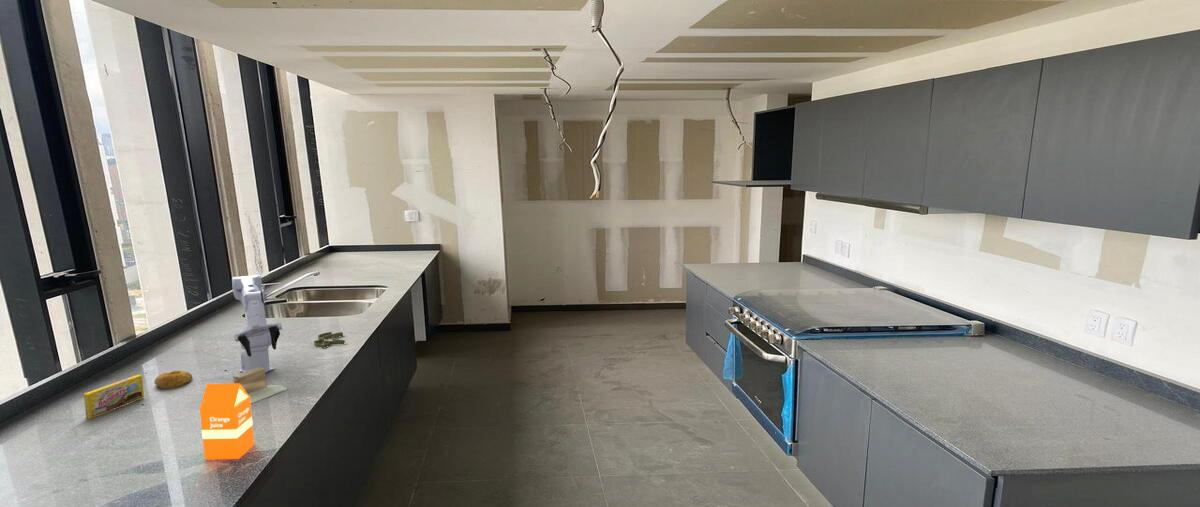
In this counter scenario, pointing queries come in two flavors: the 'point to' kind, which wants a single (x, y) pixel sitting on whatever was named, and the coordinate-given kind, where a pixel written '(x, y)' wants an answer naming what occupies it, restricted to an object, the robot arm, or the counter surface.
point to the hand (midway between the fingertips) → (261, 351)
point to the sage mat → (265, 393)
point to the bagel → (173, 379)
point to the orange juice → (226, 421)
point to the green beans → (326, 336)
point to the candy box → (113, 396)
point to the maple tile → (251, 379)
